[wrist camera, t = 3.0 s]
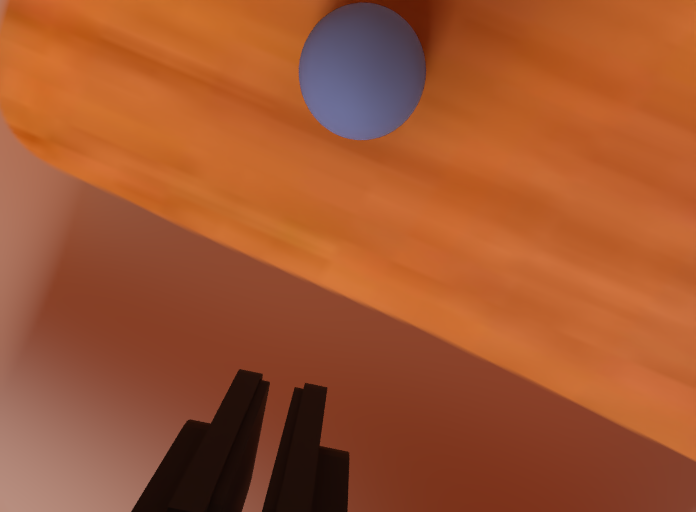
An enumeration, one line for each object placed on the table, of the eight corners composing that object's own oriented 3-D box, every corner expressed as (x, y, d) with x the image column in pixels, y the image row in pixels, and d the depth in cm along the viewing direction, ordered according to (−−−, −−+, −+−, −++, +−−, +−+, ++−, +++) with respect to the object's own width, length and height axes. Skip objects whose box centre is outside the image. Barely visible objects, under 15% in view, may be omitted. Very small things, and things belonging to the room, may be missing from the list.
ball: (430, 35, 22) (452, 2, 16) (402, 149, 23) (414, 154, 18) (318, 9, 22) (304, -33, 16) (297, 126, 23) (278, 123, 18)
